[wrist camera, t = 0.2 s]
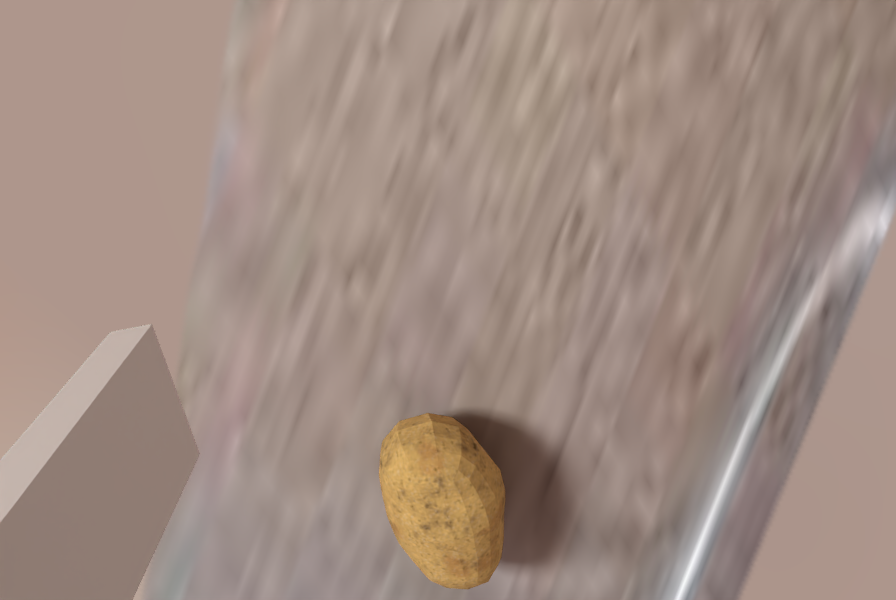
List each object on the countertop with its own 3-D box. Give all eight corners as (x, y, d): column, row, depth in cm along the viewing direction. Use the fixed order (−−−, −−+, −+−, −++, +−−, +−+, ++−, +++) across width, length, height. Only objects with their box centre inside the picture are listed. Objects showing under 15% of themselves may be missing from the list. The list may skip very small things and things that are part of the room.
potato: (483, 378, 46) (492, 437, 40) (515, 533, 50) (527, 607, 44) (368, 399, 46) (360, 461, 41) (409, 552, 51) (407, 627, 45)
